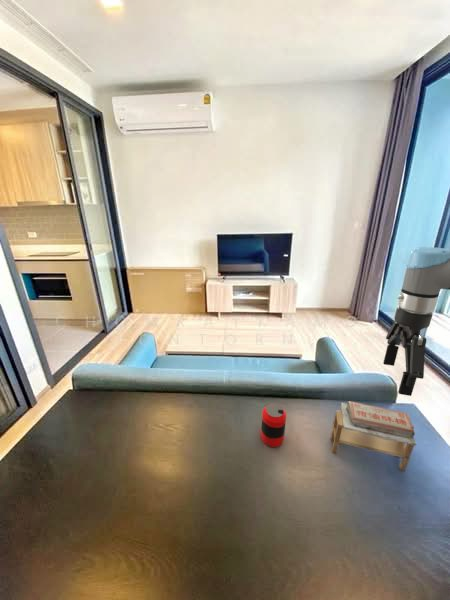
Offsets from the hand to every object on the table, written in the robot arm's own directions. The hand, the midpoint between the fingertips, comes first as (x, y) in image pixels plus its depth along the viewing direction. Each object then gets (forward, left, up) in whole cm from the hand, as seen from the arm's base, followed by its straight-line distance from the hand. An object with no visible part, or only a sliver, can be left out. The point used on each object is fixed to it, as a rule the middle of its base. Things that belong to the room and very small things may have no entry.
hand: (395, 378), depth 71 cm
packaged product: (+3, +3, -16) cm, 16 cm away
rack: (+4, +3, -28) cm, 28 cm away
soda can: (+33, +6, -28) cm, 43 cm away
